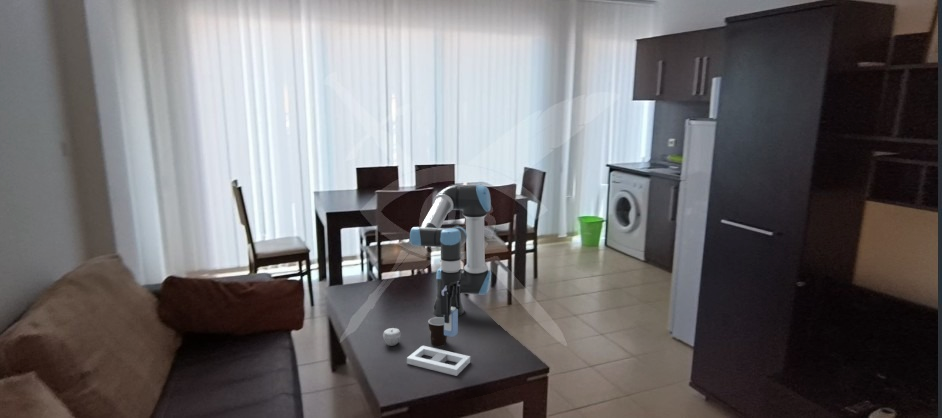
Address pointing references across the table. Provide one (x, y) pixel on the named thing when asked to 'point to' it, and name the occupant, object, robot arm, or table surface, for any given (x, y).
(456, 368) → the panel
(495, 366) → the table surface
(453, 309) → the plug
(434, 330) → the coffee mug
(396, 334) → the apple
